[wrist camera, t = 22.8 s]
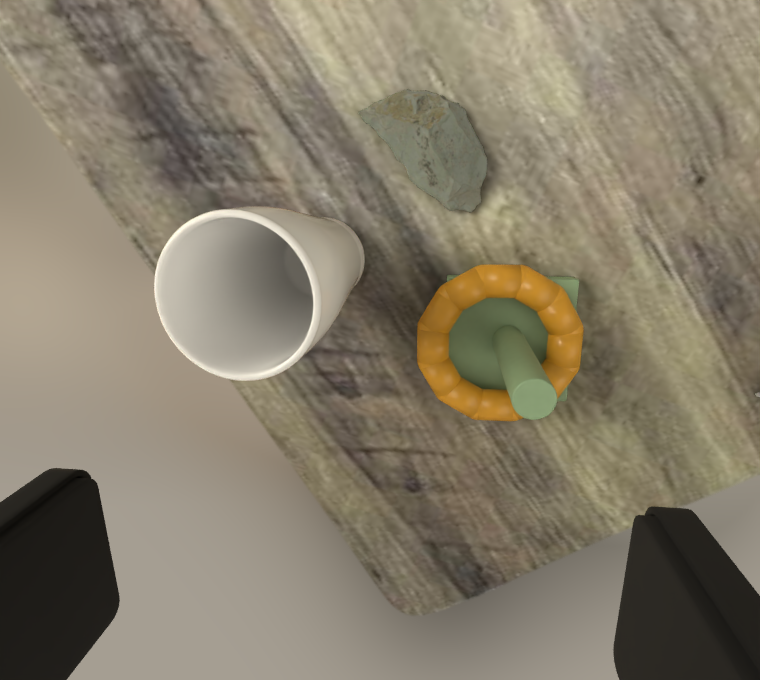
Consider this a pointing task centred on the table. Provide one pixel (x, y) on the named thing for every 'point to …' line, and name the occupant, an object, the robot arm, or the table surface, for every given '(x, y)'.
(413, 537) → the table surface
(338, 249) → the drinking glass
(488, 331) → the rack
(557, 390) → the ring
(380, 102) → the rock
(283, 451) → the table surface
